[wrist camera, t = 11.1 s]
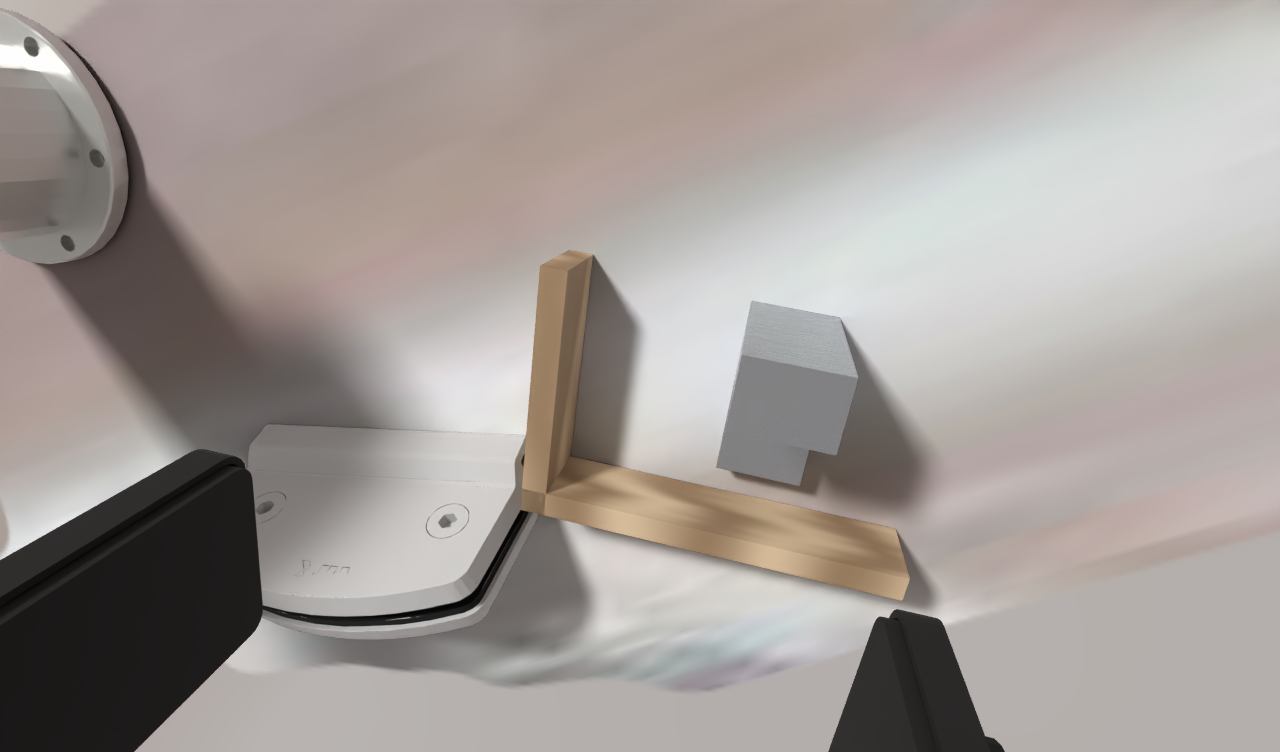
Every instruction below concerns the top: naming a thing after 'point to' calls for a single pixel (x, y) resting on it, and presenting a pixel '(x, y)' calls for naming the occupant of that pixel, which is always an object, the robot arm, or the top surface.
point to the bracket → (787, 393)
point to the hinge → (385, 527)
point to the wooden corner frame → (665, 503)
